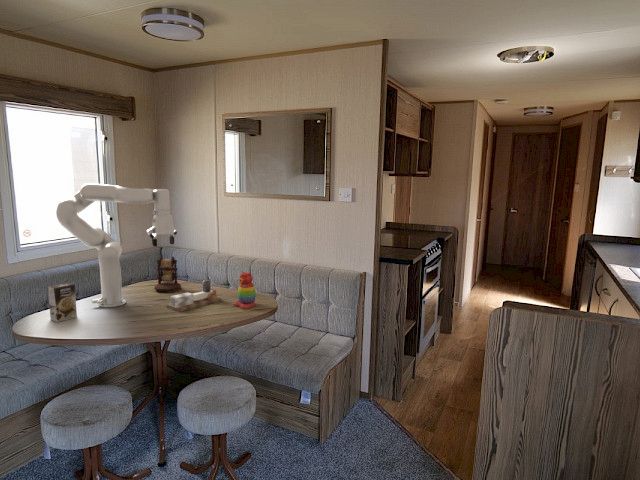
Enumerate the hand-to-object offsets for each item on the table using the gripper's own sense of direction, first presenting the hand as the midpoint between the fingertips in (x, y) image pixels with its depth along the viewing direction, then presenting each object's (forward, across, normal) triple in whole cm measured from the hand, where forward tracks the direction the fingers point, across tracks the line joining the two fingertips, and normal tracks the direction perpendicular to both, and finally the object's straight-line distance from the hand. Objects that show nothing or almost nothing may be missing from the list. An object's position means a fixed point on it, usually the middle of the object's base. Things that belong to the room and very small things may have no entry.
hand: (163, 245), depth 224 cm
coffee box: (+31, -47, +8) cm, 57 cm away
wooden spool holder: (+31, +12, +18) cm, 37 cm away
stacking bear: (+31, +24, -38) cm, 54 cm away
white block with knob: (+28, +11, -16) cm, 34 cm away
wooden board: (+30, +7, -16) cm, 35 cm away
